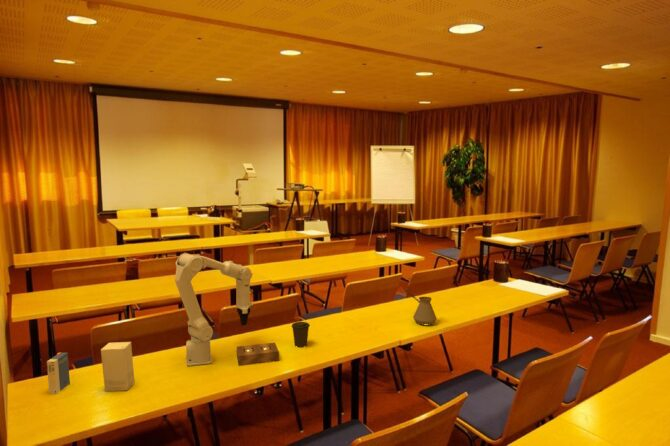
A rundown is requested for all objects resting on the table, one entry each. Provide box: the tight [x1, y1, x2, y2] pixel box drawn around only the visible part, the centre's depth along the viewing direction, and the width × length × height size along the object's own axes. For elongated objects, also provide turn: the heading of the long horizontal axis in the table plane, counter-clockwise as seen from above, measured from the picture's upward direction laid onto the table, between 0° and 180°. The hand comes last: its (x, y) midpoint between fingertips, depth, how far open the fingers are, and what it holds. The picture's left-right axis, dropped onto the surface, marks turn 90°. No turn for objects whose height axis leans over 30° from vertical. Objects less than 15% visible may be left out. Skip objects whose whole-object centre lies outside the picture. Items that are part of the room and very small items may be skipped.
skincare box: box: [100, 341, 135, 392], centre depth 160 cm, size 8×7×16 cm
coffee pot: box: [401, 287, 437, 325], centre depth 231 cm, size 21×12×15 cm, turn 37°
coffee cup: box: [291, 321, 311, 348], centre depth 199 cm, size 8×8×10 cm
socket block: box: [236, 342, 280, 367], centre depth 185 cm, size 16×10×4 cm, turn 106°
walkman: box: [46, 352, 71, 395], centre depth 159 cm, size 8×3×12 cm, turn 0°
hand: (243, 324), depth 196 cm, fingers closed
